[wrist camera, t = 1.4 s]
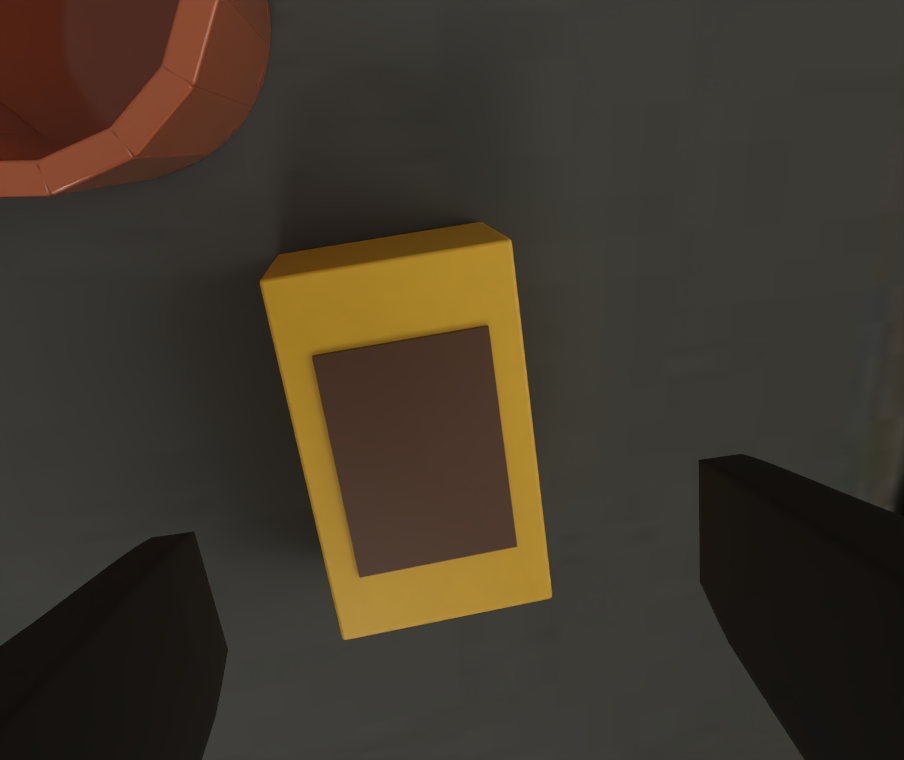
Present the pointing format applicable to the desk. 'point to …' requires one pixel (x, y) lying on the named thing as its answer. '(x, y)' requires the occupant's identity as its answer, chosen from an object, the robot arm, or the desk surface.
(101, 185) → the terracotta cup
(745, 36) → the desk surface
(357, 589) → the coffee packet
